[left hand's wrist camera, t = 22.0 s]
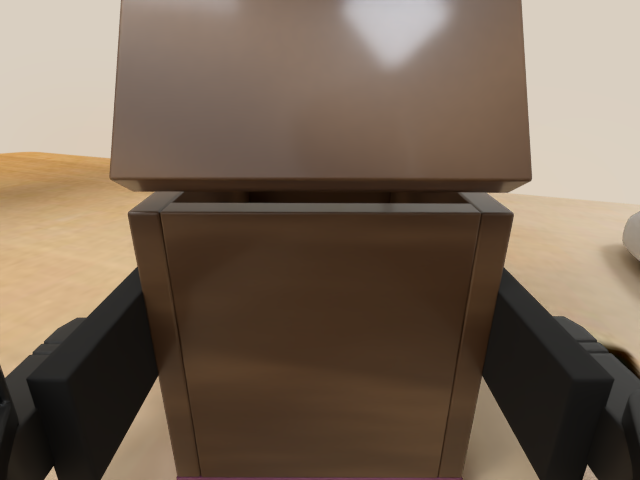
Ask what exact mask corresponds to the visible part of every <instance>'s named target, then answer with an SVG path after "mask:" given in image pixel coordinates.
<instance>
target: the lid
mask: <svg viewBox="0 0 640 480" xmlns="http://www.w3.org/2000/svg"><path fill="white" fill-rule="evenodd" d="M110 179H111V180H112V181H114V182H116V183H118V184H120V185H122V186H124V187H126V188H128V189H130V190H132V191H148V192H472V193H508V192H510V191H512V190H514V189H516V188H518V187H520V186H522V185H524V184H526V183H528V182H530V181H531V180H532V171H531V154H530V137H529V121H528V104H527V87H526V70H525V54H524V37H523V20H522V4H521V0H121V9H120V25H119V40H118V56H117V71H116V87H115V102H114V117H113V132H112V148H111V163H110Z"/></svg>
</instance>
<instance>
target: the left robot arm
mask: <svg viewBox="0 0 640 480" xmlns="http://www.w3.org/2000/svg"><path fill="white" fill-rule="evenodd" d="M482 376H483V378H484V380H485V381H486V383H487V385H488V387H489V389H490V391H491V392H492V394H493V396H494V398H495V400H496V401H497V403H498V405H499V407H500V409H501V410H502V412H503V414H504V416H505V418H506V419H507V421H508V423H509V425H510V427H511V429H512V430H513V432H514V434H515V436H516V438H517V439H518V441H519V443H520V445H521V447H522V448H523V450H524V452H525V454H526V456H527V457H528V459H529V461H530V463H531V465H532V467H533V468H534V470H535V472H536V474H537V476H538V477H539V479H540V480H582V479H583V476H584V473H585V470H586V467H587V464H588V466H589V467H590V469H591V470H592V472H593V473H594V475H595V476H596V477H597V479H598V480H640V380H639V379H638V378H637V377H636V376H635V375H634V374H633V373H632V372H631V371H630V370H628V369H627V368H626V367H625V366H624V365H623V364H622V363H621V362H620V361H619V360H618V359H617V358H616V357H614V356H613V355H612V354H609V353H608V350H607V349H606V348H605V347H604V346H603V345H602V344H600V343H597V340H596V339H595V338H594V337H593V336H592V335H591V334H590V333H589V332H588V331H587V330H585V329H584V328H583V327H582V326H580V325H578V324H576V323H574V322H573V321H571V320H569V319H567V318H566V317H564V316H552V315H551V314H550V313H549V312H548V311H547V310H546V309H545V308H544V307H543V306H542V305H541V304H540V303H539V302H538V301H537V300H536V299H535V298H534V297H533V296H532V295H531V294H530V293H529V292H528V291H527V290H526V289H525V288H524V287H523V286H522V285H521V284H520V283H519V282H518V281H517V280H516V279H515V278H514V277H513V276H512V275H511V274H510V273H509V272H508V271H507V270H506V269H505V268H504V267H503V272H502V277H501V282H500V287H499V291H498V296H497V301H496V306H495V311H494V316H493V321H492V326H491V331H490V337H489V342H488V347H487V352H486V357H485V362H484V367H483V372H482ZM157 377H158V370H157V365H156V360H155V354H154V349H153V344H152V339H151V334H150V329H149V323H148V318H147V313H146V308H145V302H144V297H143V292H142V287H141V281H140V276H139V271H138V267H137V268H136V269H135V270H134V271H133V272H132V273H131V274H130V275H129V276H128V277H127V278H126V279H125V280H124V281H123V282H122V283H121V284H120V285H119V286H118V287H117V288H116V289H115V290H114V291H113V292H112V293H111V294H110V295H109V296H108V297H107V298H106V299H105V300H104V301H103V302H102V303H101V304H100V305H99V306H98V307H97V308H96V309H95V310H94V311H93V312H92V313H91V314H90V315H89V316H88V317H87V318H76V319H74V320H72V321H71V322H69V323H67V324H65V325H63V326H62V327H60V328H58V329H57V330H56V331H55V332H54V333H53V334H52V335H51V336H49V337H48V338H47V339H46V340H45V341H44V344H41V345H40V346H39V347H38V348H37V349H36V350H35V351H33V354H32V355H29V356H28V357H27V358H26V359H25V360H24V361H23V362H22V363H21V364H20V365H19V366H17V367H16V368H15V369H14V370H13V371H12V372H11V373H10V374H9V375H8V376H7V377H6V378H4V375H3V372H2V369H1V366H0V480H44V479H45V477H46V476H47V475H48V473H49V472H50V470H51V469H52V467H53V466H54V468H55V471H56V474H57V477H58V480H101V478H102V476H103V475H104V473H105V471H106V469H107V467H108V466H109V464H110V462H111V460H112V458H113V457H114V455H115V453H116V451H117V449H118V447H119V446H120V444H121V442H122V440H123V438H124V437H125V435H126V433H127V431H128V429H129V428H130V426H131V424H132V422H133V420H134V418H135V417H136V415H137V413H138V411H139V409H140V408H141V406H142V404H143V402H144V400H145V399H146V397H147V395H148V393H149V391H150V390H151V388H152V386H153V384H154V382H155V380H156V379H157Z"/></svg>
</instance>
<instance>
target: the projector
mask: <svg viewBox="0 0 640 480" xmlns="http://www.w3.org/2000/svg"><path fill="white" fill-rule="evenodd" d="M623 244H624V246H625V247H626V249H627V250H628V251H629V252H630V253H631V254H632V255H633V256H634V257H635V258H636V259H638V260H639V261H640V212H637V213H636V214H634V215H632V216H631V217H630V218H629V219H628V221H627V223H626V225H625V229H624V232H623Z"/></svg>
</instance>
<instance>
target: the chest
mask: <svg viewBox="0 0 640 480" xmlns="http://www.w3.org/2000/svg"><path fill="white" fill-rule="evenodd" d="M513 217H514V214H513V212H511V211H510V210H509V209H507V208H506V207H505V206H503V205H502V204H500V203H499V202H498V201H496V200H495V199H494V198H492V197H491V196H490V195H488V194H487V193H472V192H154V193H153V194H152V195H150V196H149V197H148V198H146V199H145V200H144V201H142V202H141V203H140V204H138V205H137V206H136V207H134V208H133V209H132V210H130V211H129V212H128V218H129V224H130V229H131V234H132V239H133V245H134V250H135V255H136V260H137V266H138V271H139V276H140V281H141V287H142V292H143V297H144V302H145V308H146V313H147V318H148V323H149V329H150V334H151V339H152V344H153V349H154V354H155V360H156V365H157V370H158V376H159V381H160V387H161V392H162V397H163V402H164V408H165V413H166V418H167V423H168V429H169V434H170V439H171V444H172V450H173V455H174V460H175V465H176V471H177V480H462V473H463V468H464V463H465V458H466V453H467V448H468V443H469V438H470V433H471V428H472V423H473V418H474V413H475V408H476V403H477V398H478V393H479V388H480V383H481V378H482V372H483V367H484V362H485V357H486V352H487V347H488V342H489V337H490V331H491V326H492V321H493V316H494V311H495V306H496V301H497V296H498V291H499V287H500V282H501V277H502V272H503V267H504V262H505V257H506V252H507V247H508V242H509V237H510V232H511V227H512V222H513Z"/></svg>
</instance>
